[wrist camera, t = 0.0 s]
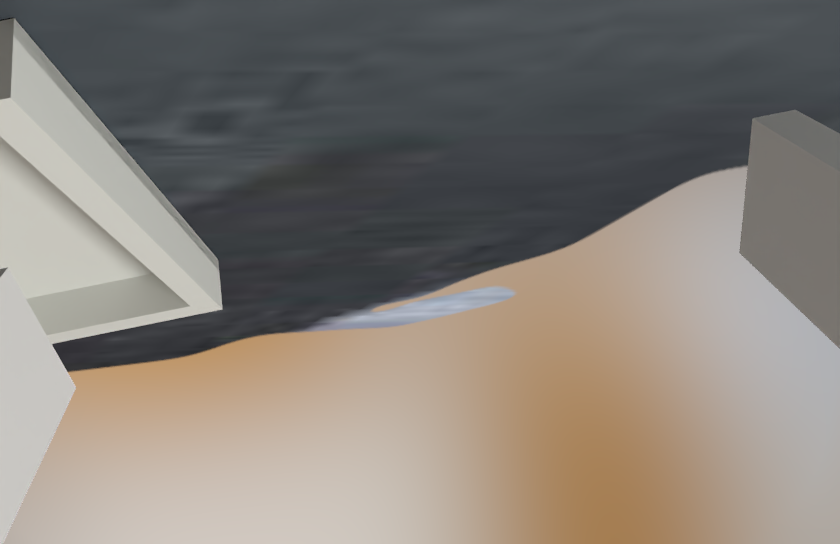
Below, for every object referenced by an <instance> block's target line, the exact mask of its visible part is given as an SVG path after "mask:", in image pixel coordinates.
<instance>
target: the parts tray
mask: <svg viewBox="0 0 840 544" xmlns="http://www.w3.org/2000/svg"><path fill="white" fill-rule="evenodd" d="M7 267H8V268H9V270H10V272H11V273H12V275H13V277H14V279H15V280H16V282H17V284H18V286H19V288H20V289H21V291H22V293H23V295H24V296H25V298H26V300H27V302H28V303H29V305H30V307H31V309H32V311H33V312H34V314H35V316H36V318H37V319H38V321H39V323H40V325H41V326H42V328H43V330H44V332H45V333H46V335H47V337H48V339H49V341H50V342H51V344H53V343H58V342H63V341H68V340H73V339H78V338H83V337H88V336H93V335H98V334H103V333H107V332H112V331H117V330H122V329H127V328H132V327H137V326H142V325H147V324H152V323H157V322H162V321H167V320H172V319H177V318H182V317H187V316H192V315H197V314H201V313H206V312H211V311H216V310H221V309H222V299H221V287H220V276H219V264H218V259H217V258H216V257H215V255H214V254H213V253H212V252H211V251H210V249H209V248H208V247H207V246H206V245H205V244H204V242H203V241H202V240H201V239H200V238H199V236H198V235H197V234H196V233H195V232H194V230H193V229H192V228H191V227H190V226H189V225H188V223H187V222H186V221H185V220H184V219H183V217H182V216H181V215H180V214H179V213H178V212H177V210H176V209H175V208H174V207H173V206H172V204H171V203H170V202H169V201H168V200H167V199H166V197H165V196H164V195H163V194H162V193H161V191H160V190H159V189H158V188H157V187H156V186H155V184H154V183H153V182H152V181H151V180H150V178H149V177H148V176H147V175H146V174H145V173H144V171H143V170H142V169H141V168H140V167H139V165H138V164H137V163H136V162H135V161H134V160H133V158H132V157H131V156H130V155H129V154H128V152H127V151H126V150H125V149H124V148H123V146H122V145H121V144H120V143H119V142H118V141H117V139H116V138H115V137H114V136H113V135H112V133H111V132H110V131H109V130H108V129H107V128H106V126H105V125H104V124H103V123H102V122H101V120H100V119H99V118H98V117H97V116H96V115H95V113H94V112H93V111H92V110H91V109H90V107H89V106H88V105H87V104H86V103H85V102H84V100H83V99H82V98H81V97H80V96H79V94H78V93H77V92H76V91H75V90H74V89H73V87H72V86H71V85H70V84H69V83H68V81H67V80H66V79H65V78H64V77H63V76H62V74H61V73H60V72H59V71H58V70H57V68H56V67H55V66H54V65H53V64H52V62H51V61H50V60H49V59H48V58H47V57H46V55H45V54H44V53H43V52H42V51H41V49H40V48H39V47H38V46H37V45H36V44H35V42H34V41H33V40H32V39H31V38H30V36H29V35H28V34H27V33H26V32H25V31H24V29H23V28H22V27H21V26H20V25H19V23H18V22H17V21H16V20H15V19H14V18H13V19H8V20H3V21H0V269H2V268H7Z"/></svg>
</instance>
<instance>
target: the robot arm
mask: <svg viewBox="0 0 840 544" xmlns="http://www.w3.org/2000/svg"><path fill="white" fill-rule="evenodd" d="M740 254H741V255H742V256H743V257H744V258H746V260H748V261H749V262H750V263H751V264H752V265H753V266H754V267H755V268H756V269H757V270H758V271H759V272H760V273H761V274H762V275H763V276H764V277H765V278H766V279H767V280H769V282H771V283H772V284H773V285H774V286H775V287H776V288H777V289H778V290H779V291H780V292H781V293H782V294H783V295H784V296H785V297H786V298H787V299H788V300H789V301H791V303H793V304H794V305H795V306H796V307H797V308H798V309H799V310H800V311H801V312H802V313H803V314H804V315H805V316H806V317H807V318H808V319H809V320H810V321H811V322H812V323H813V324H814V325H816V326H817V327H818V328H819V329H820V330H821V331H822V332H823V333H824V334H825V335H826V336H827V337H828V338H829V339H830V340H831V341H832V342H833V343H834V344H835V345H836V346H838V347H839V348H840V134H839V133H837V132H835V131H833V130H832V129H830V128H828V127H826V126H824V125H822V124H820V123H819V122H817V121H815V120H813V119H811V118H809V117H807V116H806V115H804V114H802V113H800V112H798V111H796V110H792V111H787V112H782V113H777V114H772V115H767V116H762V117H757V118H753V119H752V130H751V140H750V150H749V160H748V170H747V181H746V191H745V202H744V212H743V222H742V232H741V242H740ZM75 389H76V387H75V385H74V383H73V381H72V379H71V378H70V376H69V374H68V372H67V371H66V369H65V367H64V365H63V364H62V362H61V360H60V358H59V356H58V355H57V353H56V351H55V349H54V348H53V346H52V344H51V342H50V341H49V339H48V337H47V335H46V333H45V332H44V330H43V328H42V326H41V325H40V323H39V321H38V319H37V318H36V316H35V314H34V312H33V311H32V309H31V307H30V305H29V303H28V302H27V300H26V298H25V296H24V295H23V293H22V291H21V289H20V288H19V286H18V284H17V282H16V280H15V279H14V277H13V275H12V273H11V272H10V270H9V268H8V267H7V268H2V269H0V544H3V542H4V540H5V538H6V536H7V534H8V532H9V530H10V528H11V525H12V523H13V521H14V519H15V517H16V515H17V513H18V510H19V508H20V506H21V504H22V502H23V500H24V497H25V495H26V493H27V491H28V489H29V487H30V485H31V483H32V480H33V478H34V476H35V474H36V472H37V469H38V468H39V466H40V463H41V461H42V459H43V457H44V455H45V453H46V450H47V449H48V446H49V444H50V442H51V440H52V438H53V436H54V434H55V431H56V429H57V427H58V425H59V423H60V421H61V418H62V417H63V414H64V412H65V410H66V408H67V406H68V404H69V402H70V399H71V397H72V395H73V393H74V391H75Z"/></svg>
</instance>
